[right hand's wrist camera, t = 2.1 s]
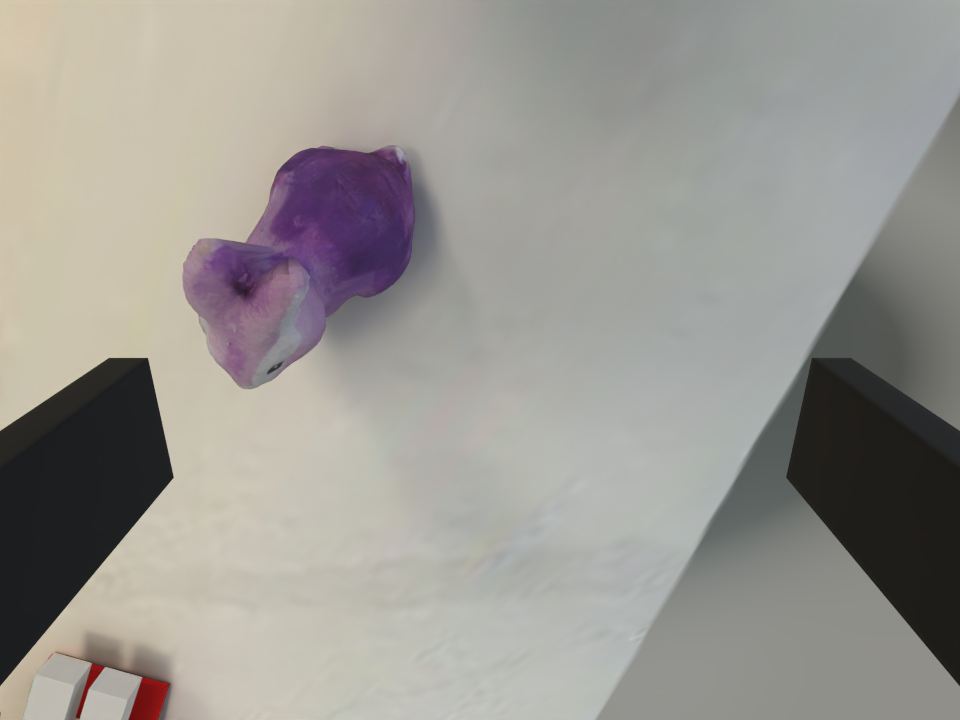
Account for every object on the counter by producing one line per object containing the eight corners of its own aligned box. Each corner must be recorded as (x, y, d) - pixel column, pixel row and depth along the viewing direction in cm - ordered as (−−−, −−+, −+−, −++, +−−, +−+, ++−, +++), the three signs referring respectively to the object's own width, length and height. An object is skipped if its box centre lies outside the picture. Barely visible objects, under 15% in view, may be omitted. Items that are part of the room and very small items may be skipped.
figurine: (279, 324, 38) (165, 444, 25) (245, 151, 35) (87, 176, 21) (430, 314, 38) (402, 430, 24) (412, 138, 34) (367, 156, 20)
